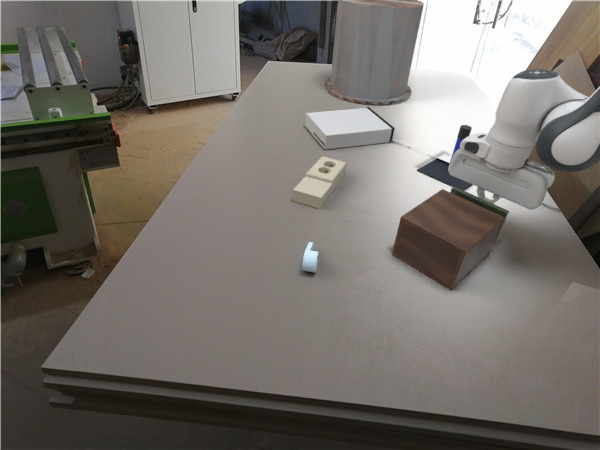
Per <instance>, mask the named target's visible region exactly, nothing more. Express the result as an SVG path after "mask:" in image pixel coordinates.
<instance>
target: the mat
mask: <svg viewBox="0 0 600 450" xmlns="http://www.w3.org/2000/svg"><path fill="white" fill-rule="evenodd" d="M449 164H450V162H448V161H445V160H443V159H440V158H438V157H437V158H434V159H433V160H431V161H430V162H428V163H426V164H424V165H422V166H421V167H419V168H417V169H416V172H418V173H420V174H423V175H425V176H427V177H429V178H432V179H434V180H437V181H438V182H441V183H443V184H445V185H447V186H450V187H451V188H453V187H457V188H459V189H461V190H463V191H466V190H467V189H469V188H470V187H472V186H473V185H472V184H470V183H468V182H466V181H463V180H461V179H459V178H456V177H454V176H452V175H450V174H449V172H448V167H449Z"/></svg>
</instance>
